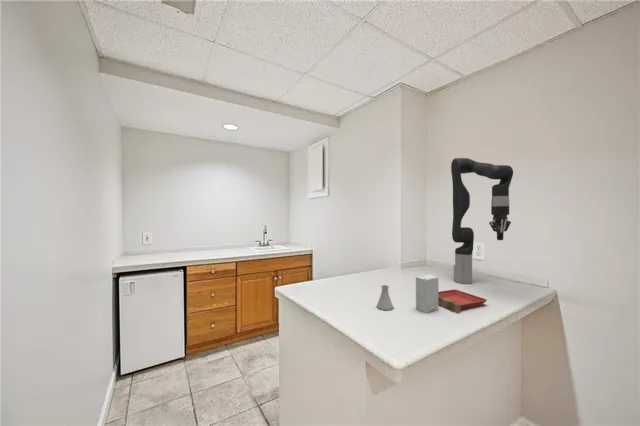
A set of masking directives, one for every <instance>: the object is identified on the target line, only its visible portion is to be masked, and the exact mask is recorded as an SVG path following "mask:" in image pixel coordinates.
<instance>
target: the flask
mask: <svg viewBox="0 0 640 426" xmlns="http://www.w3.org/2000/svg"><path fill="white" fill-rule="evenodd" d="M380 287H381V293H380V297H379V299H378V301H377V304H376V306H375V307H376V308H377V309H379V310H382V311H392V310H393V309H394V306H393V303H392V299H391V298H390V294H389V285H386V284H384V285H383V284H382V285H380Z"/></svg>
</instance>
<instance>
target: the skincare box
mask: <svg viewBox="0 0 640 426" xmlns="http://www.w3.org/2000/svg"><path fill="white" fill-rule="evenodd" d="M438 292H439V277H438V276H435V275H432V274H425V275H419V276H415V309H416V310H418V311H421V312H423V313H425V314H426V313H427V314H428V313H430V312H433V311H434V312H435V311H438V310H439V305H438Z"/></svg>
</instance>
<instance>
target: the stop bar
mask: <svg viewBox="0 0 640 426" xmlns="http://www.w3.org/2000/svg"><path fill="white" fill-rule="evenodd" d="M438 307H441V308H443V309H446V310H448V311H451V312H453V313H456V314H457V313H461V312H462V311H461V310H462V309H461V304H459V303H456V302H454V301H451V300H448V299H446V298H443V297H441V296H438Z"/></svg>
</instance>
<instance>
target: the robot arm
mask: <svg viewBox="0 0 640 426" xmlns="http://www.w3.org/2000/svg"><path fill="white" fill-rule="evenodd" d="M450 171H451V172H450V173H451V182H452V216H453V217H452V228H451V236H452V241H453V242H454V243H457V244H459V243H463V244H462V245H460V246H458V247H457V248H455V250H454V264H453V281H455V282H456V283H459V284H466V285H471V284H473V251H474V243H475V242H474V241H475V240H474V239H475V233H474V230H473V229H472V227H466V226H465V227H462V221H463V218H464V217H465V215H466V213H467V211H468V210H469V208H470V206H471V205H470V204H471V200H470V199H471V196H470V192H469V191H468V188H466V186H465V184H464V182H463V180H462V174H471V173H473V174H476V175H478V176H480V177H485V178H488V179H490V180H500V181H499V183H497V184H494V185H492V186H491V200H490V201H491V202H490V203H491V204H490V207H491V208H490V211H491V212H490V214H491V215H492V220H491V221H489V222H488V223H489V226H490V227H491V229H492V230H493V232H495V233H496V240H497V241H503V240H504V233H505V232H507V231H508V229H509V228H510V225H511V222H512V221H510V220H509V218H508V216H509V215H510V195H509V194H510V186H511V182H512V180H513V175H514V170H513V168H512V166H511V165H507V164H503V165H502V164H500V165H499V164H494V163H487V162H480V161H476V160H473V159H472V158H468V157H465V158H464V157H459V158H458V157H456V158H454V159H452V161H451V164H450Z"/></svg>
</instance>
